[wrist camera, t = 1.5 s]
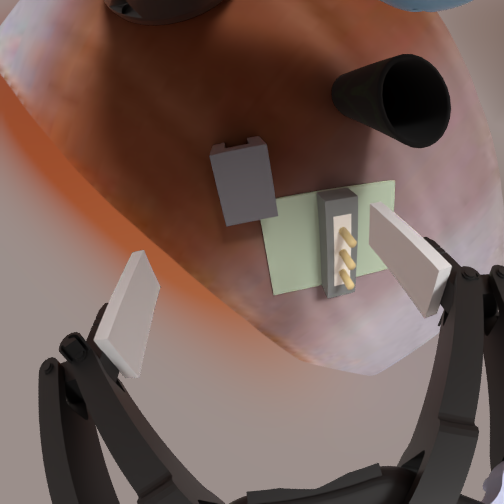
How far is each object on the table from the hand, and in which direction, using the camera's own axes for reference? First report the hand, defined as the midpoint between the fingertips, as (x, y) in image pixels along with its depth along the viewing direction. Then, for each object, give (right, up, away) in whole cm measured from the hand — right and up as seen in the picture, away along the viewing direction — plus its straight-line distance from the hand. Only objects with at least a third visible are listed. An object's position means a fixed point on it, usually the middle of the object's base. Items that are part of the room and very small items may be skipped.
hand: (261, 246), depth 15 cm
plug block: (-2, +9, +14) cm, 17 cm away
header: (+10, +1, +20) cm, 22 cm away
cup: (+11, +17, +10) cm, 23 cm away
